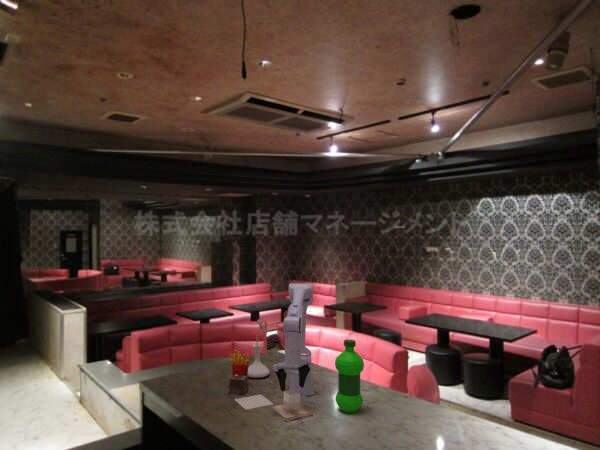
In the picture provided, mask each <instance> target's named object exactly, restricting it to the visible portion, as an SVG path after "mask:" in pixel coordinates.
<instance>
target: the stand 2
mask: <svg viewBox="0 0 600 450" xmlns="http://www.w3.org/2000/svg"><path fill="white" fill-rule="evenodd" d="M271 408H272V409H273V410H274V411H275V412H277V413H278V414H279V415H281V416H282V417H283V418H285V419H286V420H283V422H284V423H286V424H287V423H291V422H294V421H298V420H299V421H300V420H302V419H303V420H304V419H308V418H310V417H311V418H312V417H314V414H311V413H313V411H312V410H311V409H310V408H308V407H306V406H305V405H304V404H302V403H301V402H300V410H299V411H294V412H290V413H289V412H288V411H286V410H285V409H284V408H283V404H279V405H274V406H271ZM306 414H308V415H306ZM298 416H300V417H298ZM292 417H295V418H292ZM288 418H291V419H288Z"/></svg>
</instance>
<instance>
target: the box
mask: <svg viewBox="0 0 600 450" xmlns="http://www.w3.org/2000/svg"><path fill="white" fill-rule="evenodd" d="M228 390H229V395H233V396H245V395H246V393H248V392H249V376H246V375H234V376H233V375H232V376H231V377H230V378H229V389H228Z"/></svg>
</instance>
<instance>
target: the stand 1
mask: <svg viewBox="0 0 600 450" xmlns="http://www.w3.org/2000/svg"><path fill="white" fill-rule="evenodd" d="M234 401H235V402H237V403H238V404H239V405H240V406H241V407H242V408H244V410H250V409H251V410H252V409H255V408H261V407H266V406H272V405H274V403H273V402H271V401H270V400H269V399H268V398H266V397H265V396H264V395H262V394H255V395H250V396H246V397H239V398H234Z"/></svg>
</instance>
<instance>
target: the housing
mask: <svg viewBox="0 0 600 450" xmlns="http://www.w3.org/2000/svg"><path fill="white" fill-rule="evenodd" d="M300 403H301V393H299V392H298V391H296V390H295V389H293V390H290V389H288V390H285V391H283V404H282V405H283V408H284V409H285V410H286V411H288V412H289V413H290V412H294V411H299V410H300Z"/></svg>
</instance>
